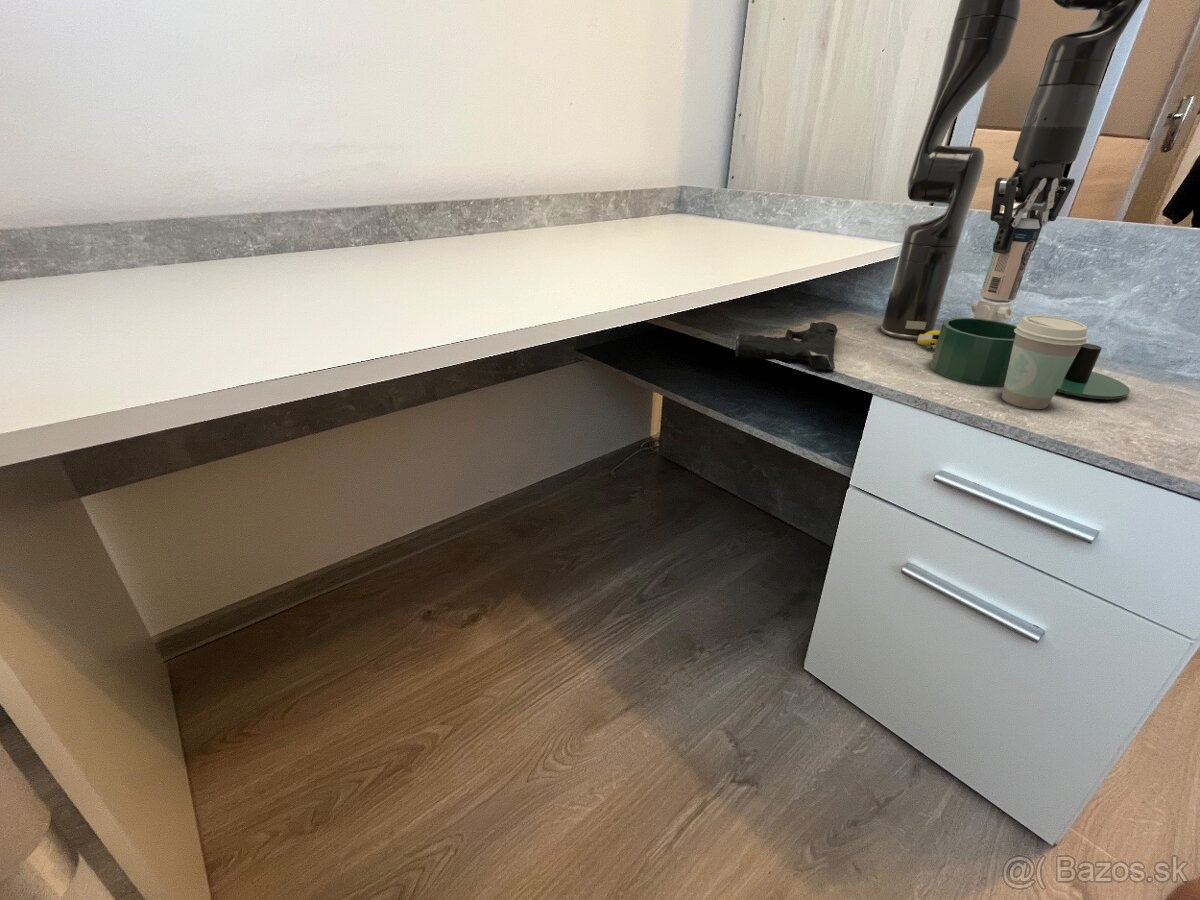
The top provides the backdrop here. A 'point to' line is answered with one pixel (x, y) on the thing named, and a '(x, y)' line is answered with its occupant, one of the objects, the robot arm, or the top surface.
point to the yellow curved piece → (929, 338)
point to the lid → (1090, 378)
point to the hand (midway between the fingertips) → (1012, 251)
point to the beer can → (1010, 264)
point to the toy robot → (991, 310)
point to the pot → (974, 350)
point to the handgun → (792, 346)
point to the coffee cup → (1041, 359)
